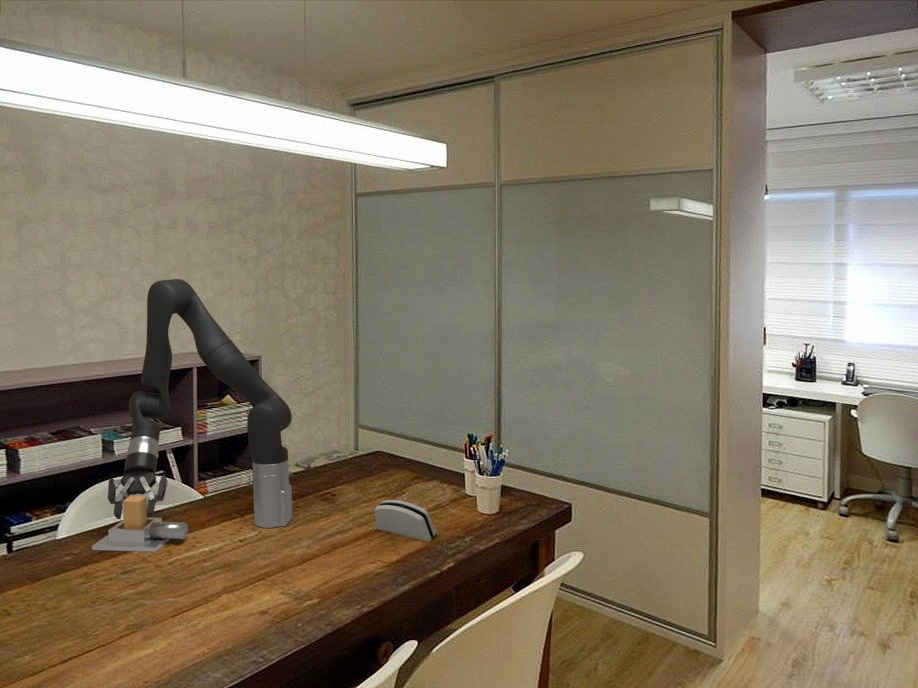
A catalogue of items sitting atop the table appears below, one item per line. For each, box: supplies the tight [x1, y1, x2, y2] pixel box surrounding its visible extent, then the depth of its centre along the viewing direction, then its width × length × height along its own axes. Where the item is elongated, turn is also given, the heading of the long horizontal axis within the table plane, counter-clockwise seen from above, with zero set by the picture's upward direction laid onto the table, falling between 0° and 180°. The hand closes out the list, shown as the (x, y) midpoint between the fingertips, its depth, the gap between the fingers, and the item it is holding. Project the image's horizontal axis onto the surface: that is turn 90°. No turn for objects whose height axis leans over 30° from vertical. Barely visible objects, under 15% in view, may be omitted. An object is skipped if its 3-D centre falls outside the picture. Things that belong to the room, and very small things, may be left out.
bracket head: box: [91, 517, 189, 553], centre depth 179 cm, size 20×12×5 cm, turn 86°
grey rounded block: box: [373, 499, 439, 542], centre depth 184 cm, size 17×5×10 cm, turn 59°
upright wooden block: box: [122, 495, 148, 529], centre depth 178 cm, size 4×4×11 cm
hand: (133, 516), depth 177 cm, fingers open, 6 cm apart
